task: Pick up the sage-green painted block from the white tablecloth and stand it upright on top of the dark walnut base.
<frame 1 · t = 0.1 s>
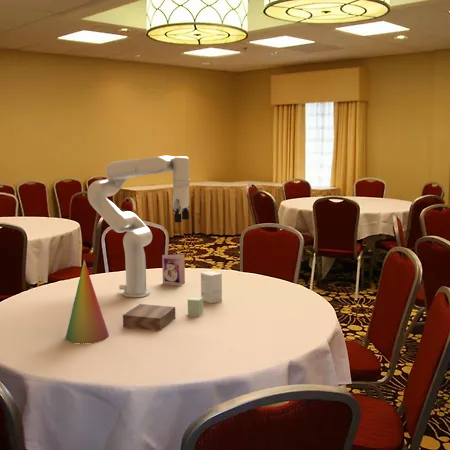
hand: (181, 220, 268), 37 cm above the table, tool pointing down, fingers open, 9 cm apart
walnut base: (149, 322, 237), on the table
greeting card: (175, 283, 301), on the table
sage block: (195, 314, 249), on the table
small box: (211, 301, 269), on the table
decorative cone: (87, 337, 221), on the table
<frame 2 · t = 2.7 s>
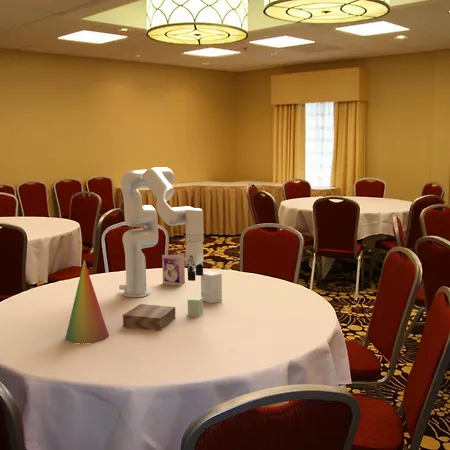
hand: (195, 277, 246), 16 cm above the table, tool pointing down, fingers open, 9 cm apart
nothing on the table moved.
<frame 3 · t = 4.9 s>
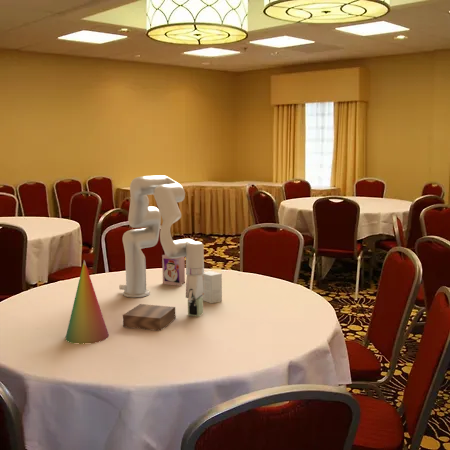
hand: (195, 312, 248), 1 cm above the table, tool pointing down, fingers closed on sage block, 5 cm apart
sage block: (195, 314, 249), on the table, touching gripper
everything else where it was.
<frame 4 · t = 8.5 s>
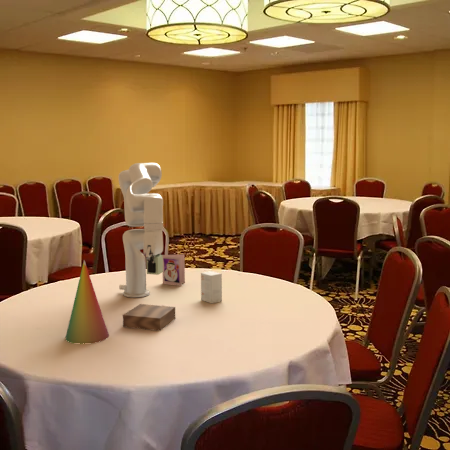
hand: (154, 270, 236), 21 cm above the table, tool pointing down, fingers closed on sage block, 5 cm apart
sage block: (154, 272, 236), point 20 cm above the table, touching gripper
everything else where it was.
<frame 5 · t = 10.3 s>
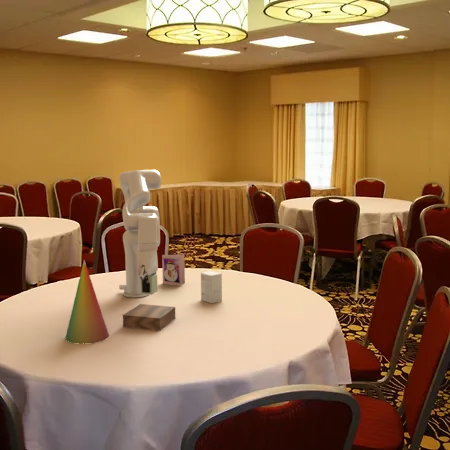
hand: (149, 290, 235), 14 cm above the table, tool pointing down, fingers closed on sage block, 5 cm apart
sage block: (149, 292, 235), point 13 cm above the table, touching gripper
everything else where it was.
when the fingers open (7 cm above the table, at t = 11.9 s): sage block drops 1 cm, resting on walnut base.
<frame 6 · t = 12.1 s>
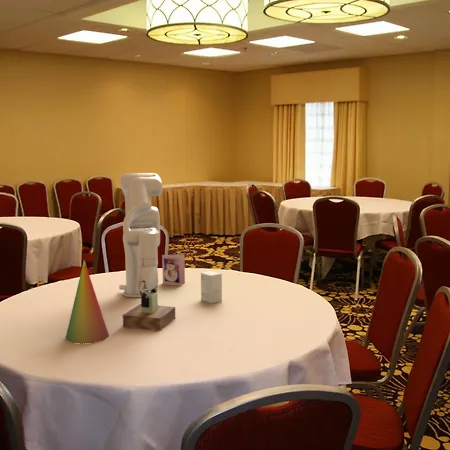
hand: (149, 304, 236), 8 cm above the table, tool pointing down, fingers open, 7 cm apart
sage block: (149, 310, 237), point 5 cm above the table, touching walnut base
everything else where it was.
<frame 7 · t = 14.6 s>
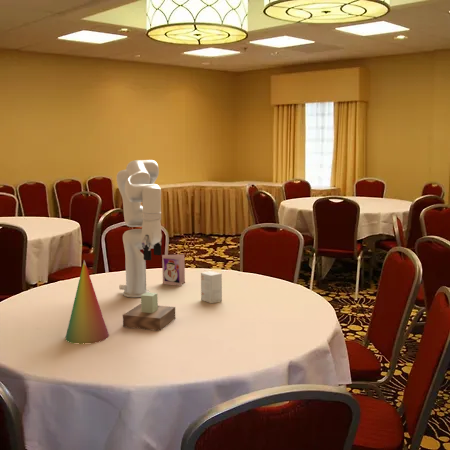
hand: (152, 257, 240), 26 cm above the table, tool pointing down, fingers open, 9 cm apart
nothing on the table moved.
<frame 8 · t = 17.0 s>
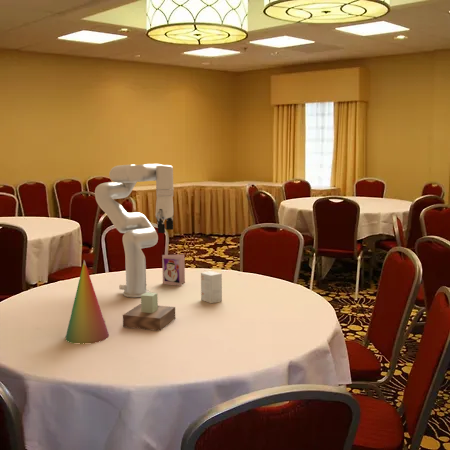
hand: (165, 231, 260), 33 cm above the table, tool pointing down, fingers open, 9 cm apart
nothing on the table moved.
at the end: sage block inside the target area on the walnut base (0.0 cm from its centre), point 5.0 cm above the walnut base's base; sage block tilted 0°; the gripper is holding nothing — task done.
